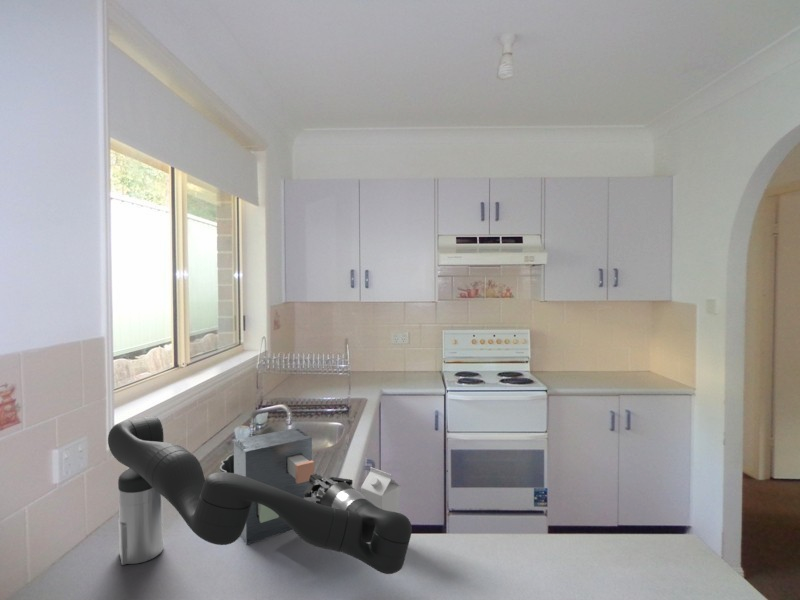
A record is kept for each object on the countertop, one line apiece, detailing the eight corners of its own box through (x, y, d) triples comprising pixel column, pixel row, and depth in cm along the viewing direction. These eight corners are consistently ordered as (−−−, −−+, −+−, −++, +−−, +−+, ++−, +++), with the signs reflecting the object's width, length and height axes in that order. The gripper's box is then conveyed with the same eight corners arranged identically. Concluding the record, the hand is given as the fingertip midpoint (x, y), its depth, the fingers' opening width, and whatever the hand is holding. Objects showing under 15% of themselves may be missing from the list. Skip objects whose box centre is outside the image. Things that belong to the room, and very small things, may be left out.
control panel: (246, 544, 120) (245, 451, 118) (234, 527, 128) (233, 440, 126) (312, 523, 130) (311, 437, 129) (297, 508, 138) (296, 427, 137)
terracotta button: (297, 483, 119) (297, 465, 119) (283, 471, 126) (283, 454, 126) (314, 479, 122) (314, 461, 121) (299, 467, 129) (299, 450, 129)
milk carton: (379, 533, 125) (379, 462, 124) (400, 542, 121) (400, 470, 120) (360, 544, 120) (360, 471, 119) (381, 555, 115) (382, 479, 114)
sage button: (260, 522, 118) (260, 504, 118) (249, 507, 126) (248, 491, 125) (278, 517, 121) (278, 499, 121) (266, 503, 128) (265, 486, 128)
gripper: (373, 482, 107) (336, 457, 121) (319, 497, 99) (287, 469, 113) (372, 514, 107) (336, 486, 121) (319, 532, 99) (287, 500, 113)
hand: (312, 478), depth 117 cm, fingers closed
